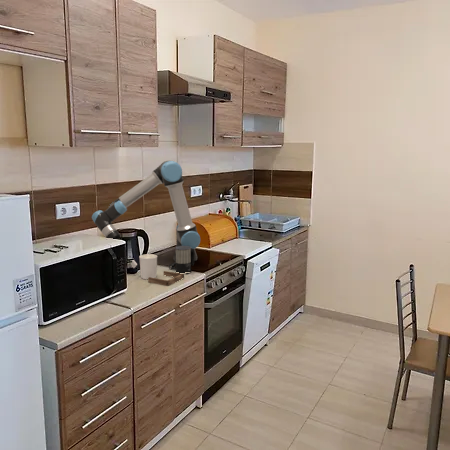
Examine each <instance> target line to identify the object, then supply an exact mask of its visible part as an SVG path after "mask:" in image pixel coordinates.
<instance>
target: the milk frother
mask: <svg viewBox="0 0 450 450" xmlns="http://www.w3.org/2000/svg"><path fill="white" fill-rule="evenodd" d="M175 251H176V261H174V262H172V263H170V264H169V265H168V268H169V269H170V268H171V269H170V270H172V269H175V271H176V272H179V273H185V272H191V273H192V266H194V265H195V261H194V255H195V251H196V250H195V251H194V249H193V248H191V247H190V246H177V247H176V246H175ZM176 272H175V273H176Z"/></svg>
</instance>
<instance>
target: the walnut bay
mask: <svg viewBox="0 0 450 450" xmlns="http://www.w3.org/2000/svg"><path fill="white" fill-rule="evenodd" d="M164 275H166V276H165V277H167V276H173V277H174V278H173V277H171V278H170V279H162V278H157V277H156V278H151V277H149V278H148V281H147V283H150V284H155V285H161V286H166V287H169V286H171V285H174V284H175V282H176V283H178V282H180V281H181V279H182V278H184V279H185V274H180V273H176V272H173V271H167V270H164V271H163V276H164ZM179 280H180V281H179ZM182 280H183V279H182ZM177 281H178V282H177Z"/></svg>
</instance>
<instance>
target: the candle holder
mask: <svg viewBox="0 0 450 450" xmlns="http://www.w3.org/2000/svg"><path fill="white" fill-rule="evenodd" d="M138 258H139V267H140V268H139V270H140V278H141V279H143V280H147V279H148V278H149V277H151V278H157V270H158V269H157V267H158V255H156V254H153V253H152V254H151V253H149V254H148V253H147V254H141V255H139V257H138Z"/></svg>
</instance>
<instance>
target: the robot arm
mask: <svg viewBox="0 0 450 450" xmlns="http://www.w3.org/2000/svg"><path fill="white" fill-rule="evenodd" d="M184 182H185V181H184V177H183V169H182V167H181V165H180V164H179V163H178V161H175V160H166V161H163V162H162V163H161V164H160V165H158V167H156V168H155V169H154V170H153V171H152V172H151V174H150V175H148V176H147V177H145V179H143V180H141V181H139V183H137V184H136V185H134V186H133V187H131V188H130V189H128V190H127V191H126V192H125V193H122V195H120V196H119V197H118V198H116V199H115V200H114V202H113V201H112V203H111V202H110V203H111V204H110V203H109V205H110V206H109V205H108V208H106V210H104V211H103V210H99V209H98V210H97V211H95V212H93V213H92V215H91V219H92V221H93V223H94V225H95V226H96V227H97V229H98V230H99V231H100V232H101V233H102V235H103V236H104V237H105V239H106V238H113V239H120V238H121V234H120V233H119V231H118V230H117V228H116V227H115V225H113V223H112V222H114V221H115V220H116V219H118V218H120V217H121V216H122V215H124V213H126V212H127V211H128V207H130V206H131V205H132V204H133V203H135V202H136V201H138V200H139V199H141V198H142V197H143V196H145V195H146V194H148V193H149V192H150V191H152V190H154V189H155V188H156V187H158V185H163V184H164V185H163V186H164V187H165V188H167V189H168V194H169V196H170V200H171V203H172V204H171V205H172V208H173V211H174V214H175V219H176V222H177V225H176V229H175V231H176V236H175V240H176V243H175V244H176V246H175V247H177V246H190V247H191V248H193V249H194V251H195V255H194V262H197V260H198V255H197V252H196V249H197V248H198V247H199V246H200V243H201V236H200V234H199V233H198V230H197V226H196V224H195V223H194V222H193V220H192V217H191V214H190V209H189V206H188V201H187V198H186V195H185V191H184V186H183V184H184ZM119 237H120V238H119ZM173 261H174V262H176V250H175V251H174V255H173ZM129 262H131V261H130V260H129ZM129 262H128V263H129ZM137 266H138V263H137V262H136V261H135V259H134V260H132V266H131V267H132V268H133V269H135V268H136V267H137Z"/></svg>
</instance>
